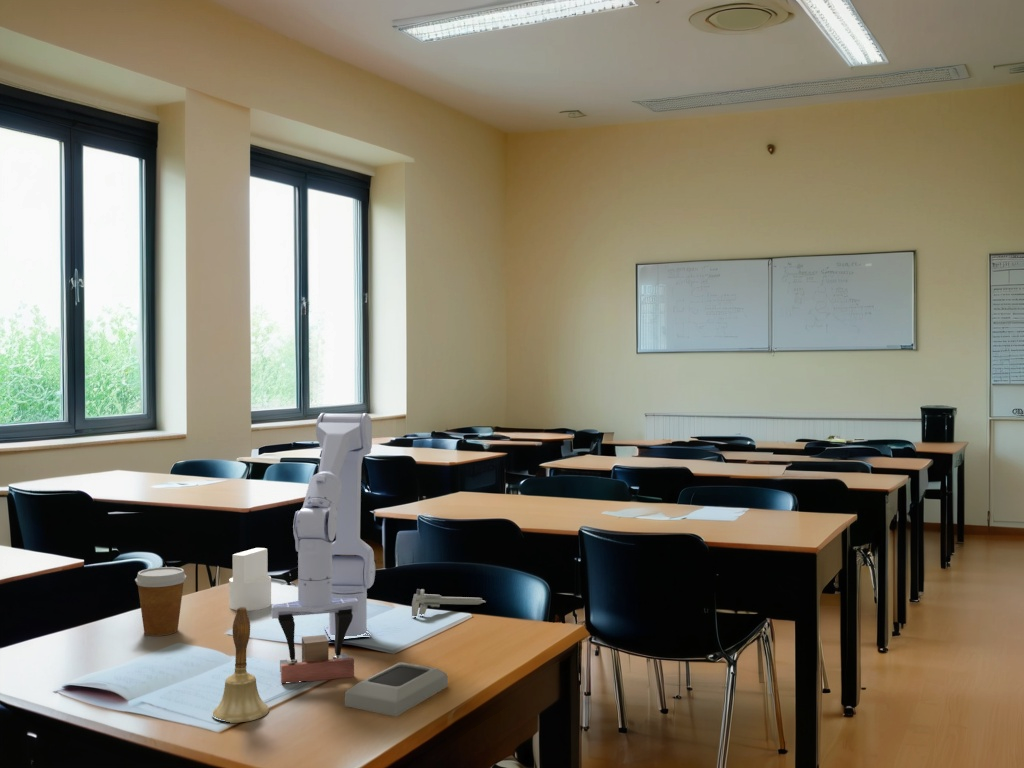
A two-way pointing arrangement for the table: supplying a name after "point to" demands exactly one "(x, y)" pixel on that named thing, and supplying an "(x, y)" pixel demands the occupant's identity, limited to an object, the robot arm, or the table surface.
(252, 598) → the cylinder with rectangular tab
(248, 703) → the hand bell
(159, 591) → the disposable coffee cup
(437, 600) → the caliper
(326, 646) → the block
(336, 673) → the block
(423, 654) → the table surface
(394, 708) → the bevelled grey desktop device
